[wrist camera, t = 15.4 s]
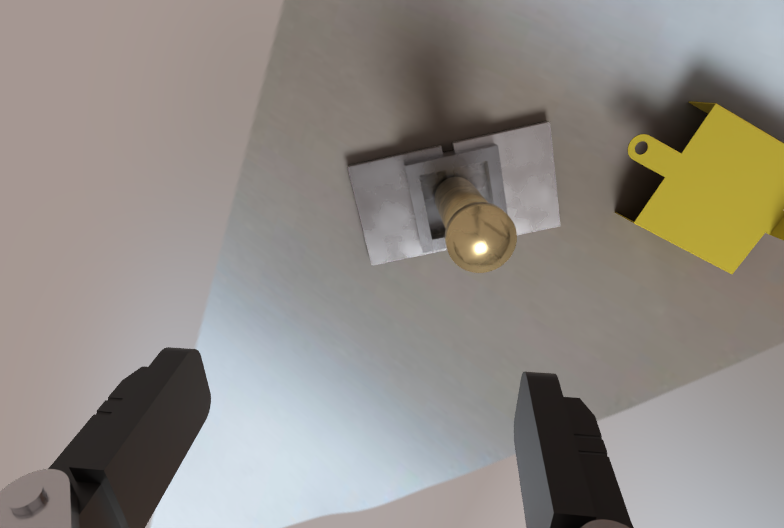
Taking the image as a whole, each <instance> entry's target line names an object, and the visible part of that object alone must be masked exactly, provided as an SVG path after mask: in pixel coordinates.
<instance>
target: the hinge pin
mask: <svg viewBox="0 0 784 528" xmlns="http://www.w3.org/2000/svg"><path fill="white" fill-rule="evenodd" d="M435 204H436V207H437V209H438V212H439V214H440V217H441V219H442V221H443V224H444V226H445V229H446V230H445V244H446V247H447V250H448V252H449V255H450V257H451V258H452V260H453V261H454V262H455V263H456V264H457V265H458V266H459V267H461V268H463V269H464V270H467V271H470V272H475V273H484V272H489V271H492V270H495V269H497V268H499V267H500V266H502V265H503V264H504V263H505V262H506V261H507V260H508V259H509V258H510V256H511V255H512V253H513V251H514V249H515V246H516V242H517V232H516V228H515V225H514V223H513V221H512V220H511V218H510V217H509V216H508V215H507V214H506V213H505V212H504V211H503V210H502V209H501V208H500V207H498V206H496V205H494V204H491V203H488V202H487V201H486V199H485V198H484V197H483V196H482V195H481V194H480V192H479V191H478V190H477V189H476V188H475V187H474V185H473V184H472V183H471V182H470V181H468V180H467V179H465V178H462V177H451V178H448V179H446V180H444V181H443V182H442V183H441V184H440V185H439V186H438V188H437V190H436V192H435Z"/></svg>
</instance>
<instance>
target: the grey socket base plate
mask: <svg viewBox="0 0 784 528" xmlns="http://www.w3.org/2000/svg"><path fill="white" fill-rule="evenodd" d="M452 146H453V151H449V152H444V153H443V152H442V147H441V145H437V146H433V147H428V148H424V149H419V150H415V151H411V152H406V153H402V154H397V155H393V156H388V157H384V158H379V159H375V160H370V161H366V162H361V163H357V164H352V165H348V167H347V168H348V172H349V176H350V180H351V184H352V188H353V192H354V196H355V200H356V204H357V208H358V212H359V216H360V220H361V224H362V228H363V232H364V236H365V240H366V244H367V248H368V252H369V256H370V260H371V264H372V266H373V265H377V264H382V263H387V262H392V261H397V260H401V259H406V258H411V257H416V256H420V255H425V254H430V253H435V252H439V251H444V250H447V247H446V244H445V230H446V229H445V226H444V224H443V221H442V219H441V217H440V214H439V212H438V209H437V207H436V204H435V192H436V190H437V188H438V186H439V185H440V184H441V183H442V182H443V181H444V180H446V179H448V178H451V177H462V178H465V179H467V180H468V181H470V182H471V183H472V184H473V185H474V187H475V188H476V189H477V190H478V191H479V192H480V194H481V195H482V196H483V197H484V198H485V199H486V201H487V202H488V203H491V204H494V205H496V206H498V207H500V208H501V209H502V210H503V211H504V212H505V213H506V214H507V215H508V216H509V217H510V218H511V220H512V221H513V223H514V225H515V228H516V232H517V235H520V234H525V233H530V232H535V231H540V230H544V229H549V228H554V227H559V226H560V216H559V206H558V196H557V186H556V176H555V166H554V156H553V146H552V136H551V126H550V122H548V121H545V122H540V123H536V124H531V125H527V126H522V127H518V128H513V129H509V130H504V131H500V132H495V133H491V134H487V135H482V136H478V137H473V138H469V139H464V140H460V141H455V142H452Z"/></svg>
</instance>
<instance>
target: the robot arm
mask: <svg viewBox="0 0 784 528" xmlns="http://www.w3.org/2000/svg"><path fill="white" fill-rule="evenodd" d="M210 404H211V394H210V390H209V386H208V382H207V378H206V374H205V370H204V366H203V362H202V358H201V355H200V353H199V351H198V350H196V349H184V348H183V349H182V348H169V347H168V348H164V349H163V350H162V351H161V352H160V353H159V354H158V356H157V357H156V358H155V359H154V360H153V362H152V363H151V365H150V366H149V367H141V368H140V369H138V370H137V371H135V372H134V373H132V374H131V375H129V376H128V377H127V378H125V379H124V380H122V381H121V383H120V384H119V385H118V386H117V387H116V389H115V390H114V391H113V392H112V393H111V394H110V396H109V397H108V401H105V402H104V403H103V404H102V405H101V406H100V408H99V409H98V410H97V414H96V415H93V416H92V417H91V418H90V420H89V421H88V422H87V423H86V424H85V426H84V427H83V428H82V429H81V430H80V432H79V433H78V434H77V435H76V436H75V438H74V439H73V440H72V441H71V442H70V444H69V445H68V446H67V447H66V448H65V449H64V451H63V452H62V453H61V454H60V456H59V457H58V458H57V459H56V460H55V461H54V463H53V464H52V465H51V466H50V467H49V468H48V469H44V470H39V471H35V472H32V473H29V474H27V475H25V476H22V477H20V478H19V479H17V480H15V481H14V482H12V483H11V484H9V485H8V486H6V487H5V488H4V489H2V490H1V491H0V528H145V526H146V525H147V523H148V521H149V519H150V518H151V516H152V514H153V512H154V511H155V509H156V507H157V505H158V503H159V502H160V500H161V498H162V496H163V495H164V493H165V491H166V489H167V488H168V486H169V484H170V482H171V481H172V479H173V477H174V475H175V473H176V472H177V470H178V468H179V466H180V465H181V463H182V461H183V459H184V458H185V456H186V454H187V452H188V450H189V449H190V447H191V445H192V443H193V442H194V440H195V438H196V436H197V435H198V433H199V431H200V429H201V427H202V426H203V424H204V422H205V420H206V418H207V416H208V413H209V410H210ZM601 437H602V436H601V433H600V430H599V427H598V424H597V421H596V418H595V416H594V414H593V413H592V412H591V411H590V410H589V409H588V407H587V406H586V405H585V404H584V403H583V402H582V400H581V399H580V398H571V397H563V394H562V391H561V387H560V384H559V380H558V377H557V375H556V374H551V373H535V372H523V374H522V377H521V382H520V388H519V394H518V400H517V406H516V412H515V419H514V443H515V450H516V457H517V464H518V471H519V478H520V485H521V492H522V499H523V505H524V513H525V520H526V527H527V528H634V527H633V525H632V523H631V521H630V518H629V515H628V512H627V509H626V506H625V503H624V500H623V497H622V494H621V491H620V488H619V486H618V483H617V480H616V477H615V474H614V471H613V468H612V465H611V462H610V459H609V457H607V450H606V448H605V444H604V441H603V440H602V438H601Z"/></svg>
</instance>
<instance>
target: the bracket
mask: <svg viewBox="0 0 784 528" xmlns="http://www.w3.org/2000/svg"><path fill="white" fill-rule="evenodd" d="M689 103H690V104H692V105H694V106H696V107H697V108H699V109H701V110H702V111H704V112H706V113H707V114H708V115H707V117H706V118H705V120H704V121H703V122H702V124H701V125H700V127H699V128H698V130H697V131H696V133H695V134H694V136H693V137H692V138H691V140H690V141H689V143H688V144H687V146H686V147H685V149H684V150H683V152H682V153H679V152H678V151H676V150H674V149H672V148H671V147H669V146H667V145H665V144H663V143H662V142H660V141H658V140H656V139H655V138H653V137H651V136H649V135H646V134H641V135H638V136H636V137H634V138H633V139H632V140H631V141H630V143H629V145H628V154H629V156H630V158H631V159H633V160H634V161H636V162H638V163H640V164H642V165H643V166H645V167H647V168H649V169H651V170H653V171H654V172H656V173H658V174H660V175H662V176H663V177H665V178H664V179H663V181H662V182H661V184H660V185H659V187H658V188H657V189H656V191H655V192H654V194H653V195H652V197H651V198H650V200H649V201H648V203H647V204H646V205H645V207H644V208H643V210H642V211H641V213H640V214H639V216H638V217H637V219H636V220H635V221H632V220H630V219H628V218H626V217H624V216H622V215H620V214H619V215H620V216H622V217H624V218H626V219H627V220H629V221H631V222H633V223H635V224H636V225H638V226H640V227H642V228H644V229H646V230H648V231H650V232H652V233H654V234H656V235H657V236H659V237H661V238H663V239H665V240H667V241H669V242H671V243H673V244H675V245H677V246H679V247H680V248H682V249H684V250H686V251H688V252H690V253H692V254H694V255H696V256H698V257H700V258H701V259H703V260H705V261H707V262H709V263H711V264H713V265H715V266H717V267H719V268H721V269H723V270H724V271H726V272H728V273H730V274H733V273H734V271H735V270H736V269H737V268H738V266H739V265H740V264H741V263H742V261H743V260H744V259H745V257H746V256H747V255H748V254H749V252H750V251H751V250H752V249H753V247H754V246H755V245H756V244H757V242H758V241H759V240H760V238H761V237H762V236H763V235H764V233H765V232H766V233H767V234H769V235H772V236H774V237H777V238H779V239H782V240H784V211H783V209H784V143H782V142H781V141H779V140H777V139H776V138H774V137H772V136H771V135H769V134H767V133H766V132H764V131H762V130H760V129H759V128H757V127H755V126H754V125H752V124H750V123H749V122H747V121H745V120H744V119H742V118H740V117H739V116H737V115H735V114H733V113H732V112H730V111H728V110H727V109H725V108H723V107H722V106H720V105H718V104H717V103H706V102H689ZM640 141H645V142H646V143H647V145H648V148H647V151H646V152H645V153H644V154H641V155H639V154H637V153H636V152H635V146H636V144H637V143H638V142H640ZM615 213H617V212H615ZM617 214H618V213H617Z"/></svg>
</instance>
